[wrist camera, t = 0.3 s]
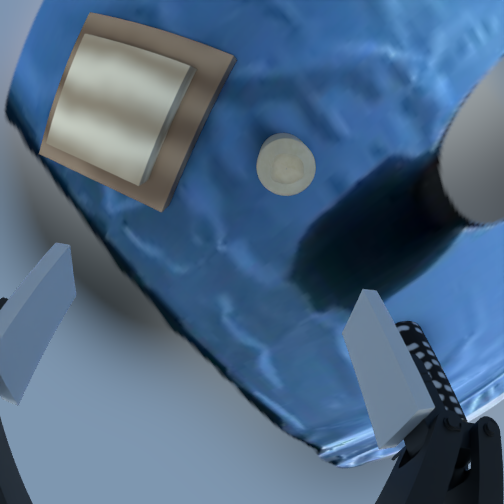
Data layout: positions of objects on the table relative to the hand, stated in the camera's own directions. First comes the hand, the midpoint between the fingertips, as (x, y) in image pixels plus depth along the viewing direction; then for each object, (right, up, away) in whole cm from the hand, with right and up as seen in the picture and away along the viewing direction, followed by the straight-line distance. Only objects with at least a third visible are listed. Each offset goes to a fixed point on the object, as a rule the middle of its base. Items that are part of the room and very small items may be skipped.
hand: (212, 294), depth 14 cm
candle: (+5, +13, +23) cm, 27 cm away
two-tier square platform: (-13, +20, +21) cm, 32 cm away
